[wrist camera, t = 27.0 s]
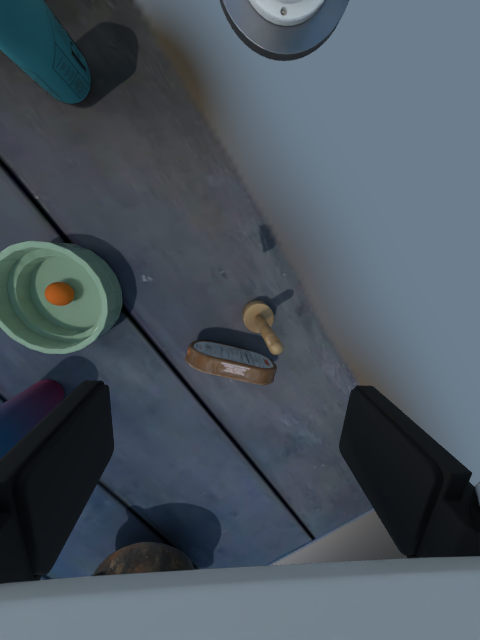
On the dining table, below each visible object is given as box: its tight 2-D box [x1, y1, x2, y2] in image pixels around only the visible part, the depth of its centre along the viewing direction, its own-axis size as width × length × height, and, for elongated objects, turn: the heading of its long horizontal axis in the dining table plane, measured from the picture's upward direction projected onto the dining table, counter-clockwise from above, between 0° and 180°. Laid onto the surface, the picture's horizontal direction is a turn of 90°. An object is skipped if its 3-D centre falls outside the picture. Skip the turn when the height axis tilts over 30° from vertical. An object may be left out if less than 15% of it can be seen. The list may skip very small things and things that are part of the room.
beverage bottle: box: [0, 0, 91, 104], centre depth 22 cm, size 6×7×20 cm
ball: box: [45, 282, 74, 306], centre depth 36 cm, size 4×4×4 cm
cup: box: [0, 380, 64, 459], centre depth 35 cm, size 7×7×15 cm
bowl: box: [0, 241, 122, 354], centre depth 36 cm, size 16×16×6 cm
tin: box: [185, 340, 277, 385], centre depth 39 cm, size 15×3×8 cm, turn 74°
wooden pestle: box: [242, 300, 283, 355], centre depth 34 cm, size 5×5×16 cm
